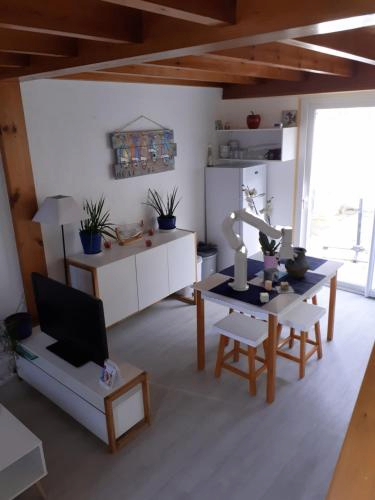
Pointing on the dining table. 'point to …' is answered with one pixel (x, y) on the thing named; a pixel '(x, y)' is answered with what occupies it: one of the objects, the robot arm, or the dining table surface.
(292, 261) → the robot arm
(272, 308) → the dining table surface
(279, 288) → the grey mat
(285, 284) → the walnut block
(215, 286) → the dining table surface
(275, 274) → the small box
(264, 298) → the sage block
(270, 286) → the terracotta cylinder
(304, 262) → the pitcher
